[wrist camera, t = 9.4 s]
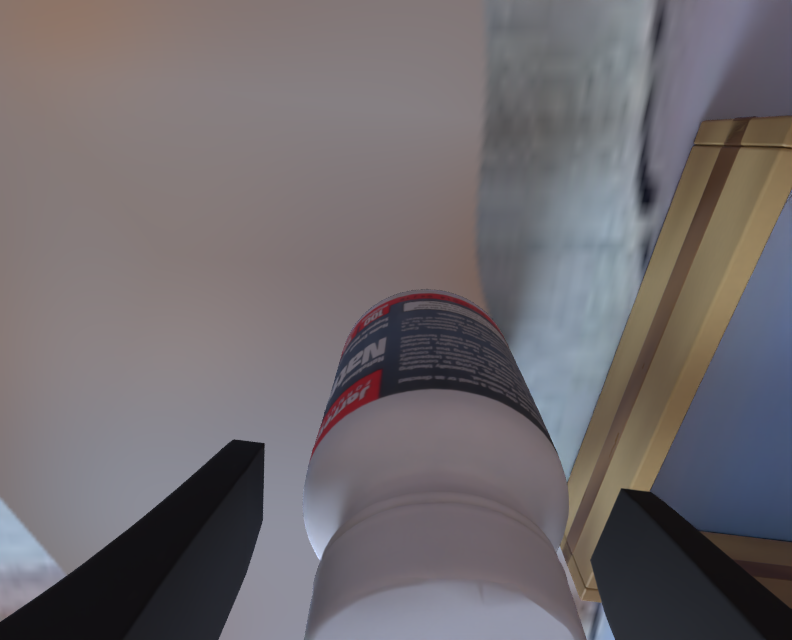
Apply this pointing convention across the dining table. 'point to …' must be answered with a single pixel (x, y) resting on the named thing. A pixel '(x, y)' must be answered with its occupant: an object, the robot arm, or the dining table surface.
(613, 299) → the dining table surface
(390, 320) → the pill bottle
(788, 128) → the picture frame
